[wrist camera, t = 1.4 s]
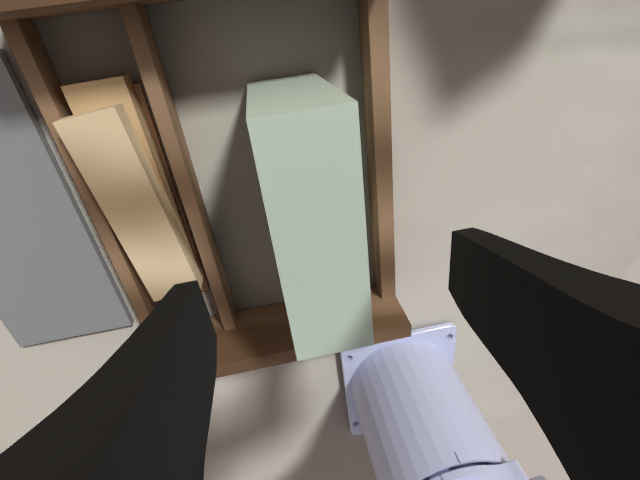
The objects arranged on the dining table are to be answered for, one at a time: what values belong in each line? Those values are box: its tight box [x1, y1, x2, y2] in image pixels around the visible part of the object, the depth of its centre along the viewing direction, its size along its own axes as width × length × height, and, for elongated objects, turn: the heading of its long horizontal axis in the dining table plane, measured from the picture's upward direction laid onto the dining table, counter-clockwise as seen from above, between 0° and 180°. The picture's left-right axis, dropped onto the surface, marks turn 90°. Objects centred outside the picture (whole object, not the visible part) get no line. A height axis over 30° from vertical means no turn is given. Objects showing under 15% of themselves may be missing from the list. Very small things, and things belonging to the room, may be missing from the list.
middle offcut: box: [60, 74, 201, 271], centre depth 18 cm, size 10×2×1 cm, turn 8°
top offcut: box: [52, 103, 203, 302], centre depth 17 cm, size 9×2×1 cm, turn 13°
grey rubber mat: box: [0, 49, 134, 347], centre depth 18 cm, size 14×6×1 cm, turn 7°
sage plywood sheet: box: [246, 73, 374, 361], centre depth 16 cm, size 9×3×8 cm, turn 7°
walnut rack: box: [0, 0, 411, 378], centre depth 17 cm, size 17×14×4 cm
